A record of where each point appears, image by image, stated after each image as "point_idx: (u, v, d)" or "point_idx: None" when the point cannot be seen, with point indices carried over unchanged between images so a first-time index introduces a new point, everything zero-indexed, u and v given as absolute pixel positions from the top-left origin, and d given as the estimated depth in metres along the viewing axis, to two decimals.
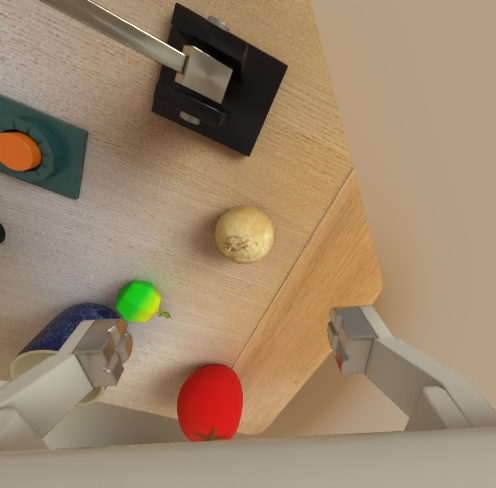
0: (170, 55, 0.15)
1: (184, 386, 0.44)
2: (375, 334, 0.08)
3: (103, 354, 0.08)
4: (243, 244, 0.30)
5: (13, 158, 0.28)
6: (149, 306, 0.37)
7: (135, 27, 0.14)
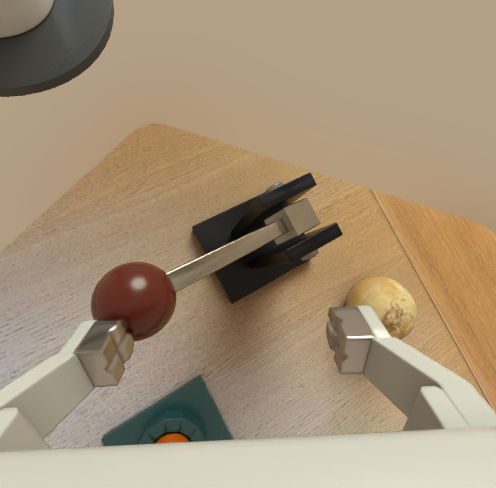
0: (275, 228, 0.17)
1: None
2: (374, 334, 0.08)
3: (105, 354, 0.08)
4: (399, 311, 0.27)
5: None
6: None
7: (251, 233, 0.16)
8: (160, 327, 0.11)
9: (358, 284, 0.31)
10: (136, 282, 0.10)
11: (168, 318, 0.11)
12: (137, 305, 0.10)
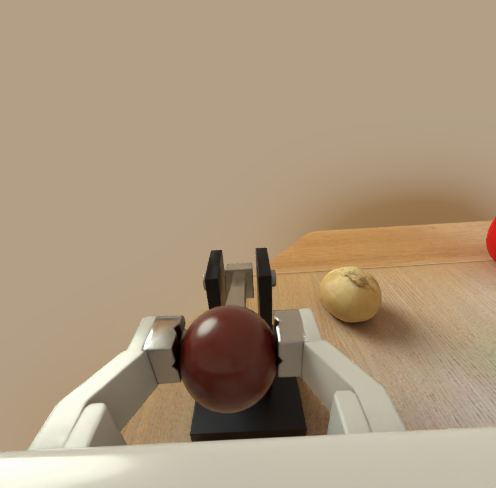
0: (237, 280, 0.19)
1: None
2: (306, 338, 0.08)
3: (172, 350, 0.08)
4: (350, 272, 0.32)
5: None
6: None
7: (230, 288, 0.17)
8: (270, 329, 0.09)
9: (322, 300, 0.34)
10: (209, 311, 0.09)
11: None
12: (232, 313, 0.09)
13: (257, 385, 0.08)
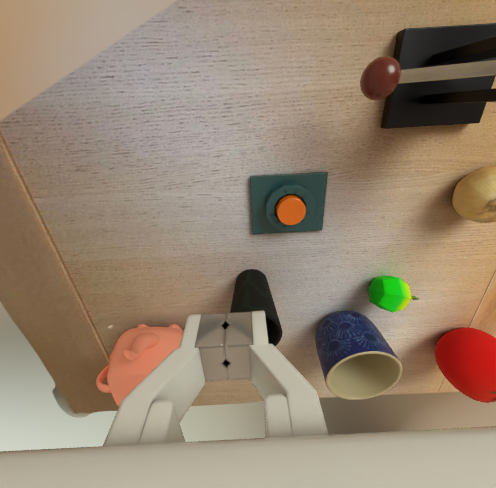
0: None
1: (445, 355, 0.47)
2: (252, 341, 0.08)
3: None
4: None
5: (292, 216, 0.35)
6: (407, 293, 0.41)
7: (482, 62, 0.21)
8: (379, 97, 0.25)
9: (491, 166, 0.34)
10: (381, 69, 0.23)
11: (385, 95, 0.24)
12: (374, 81, 0.24)
13: None
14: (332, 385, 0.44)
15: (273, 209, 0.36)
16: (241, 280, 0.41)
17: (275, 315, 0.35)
